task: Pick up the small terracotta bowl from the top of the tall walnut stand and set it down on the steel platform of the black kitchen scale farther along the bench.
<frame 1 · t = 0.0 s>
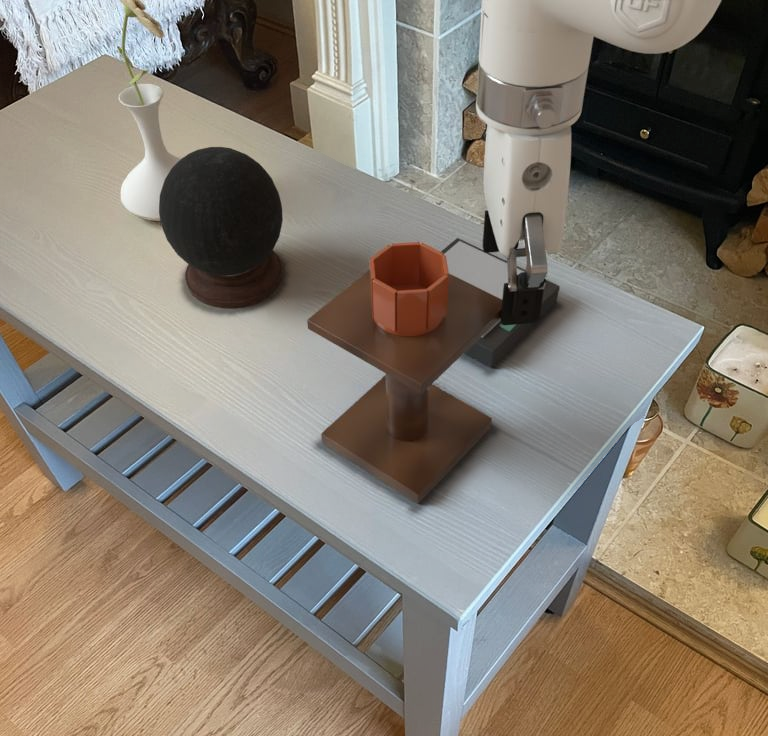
hand: (509, 284, 70), 15 cm above the table, tool pointing down, fingers open, 9 cm apart
black orb ornament: (234, 277, 94), on the table
scale: (472, 308, 91), on the table
bowl: (408, 311, 67), point 16 cm above the table, touching stand
stand: (406, 435, 80), on the table
flower in vase: (169, 200, 103), on the table
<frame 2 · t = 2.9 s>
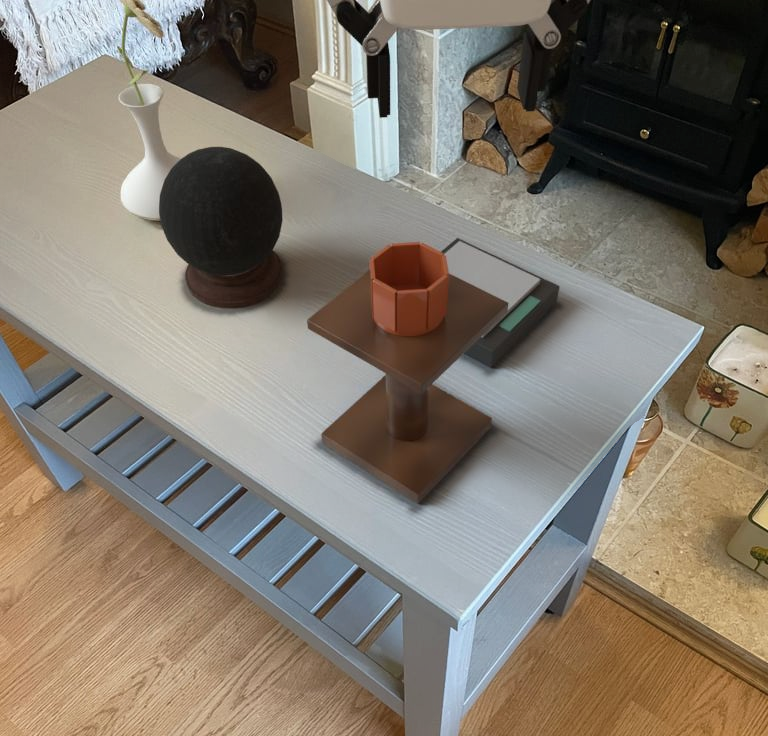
hand: (454, 103, 54), 33 cm above the table, tool pointing down, fingers open, 9 cm apart
nothing on the table moved.
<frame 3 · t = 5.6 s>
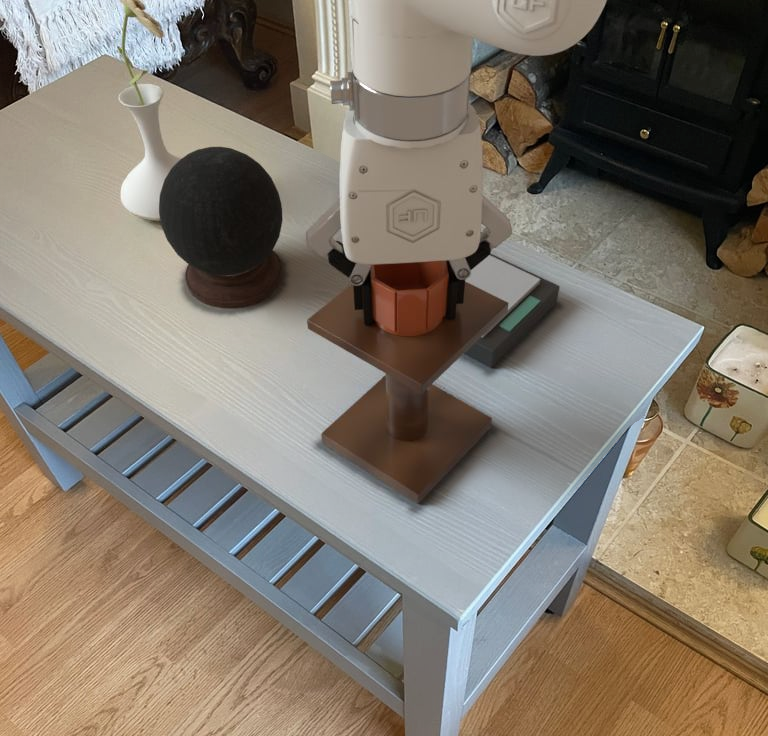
hand: (408, 309, 67), 16 cm above the table, tool pointing down, fingers closed on bowl, 6 cm apart
bowl: (408, 311, 67), point 16 cm above the table, touching gripper, stand
everything else where it was.
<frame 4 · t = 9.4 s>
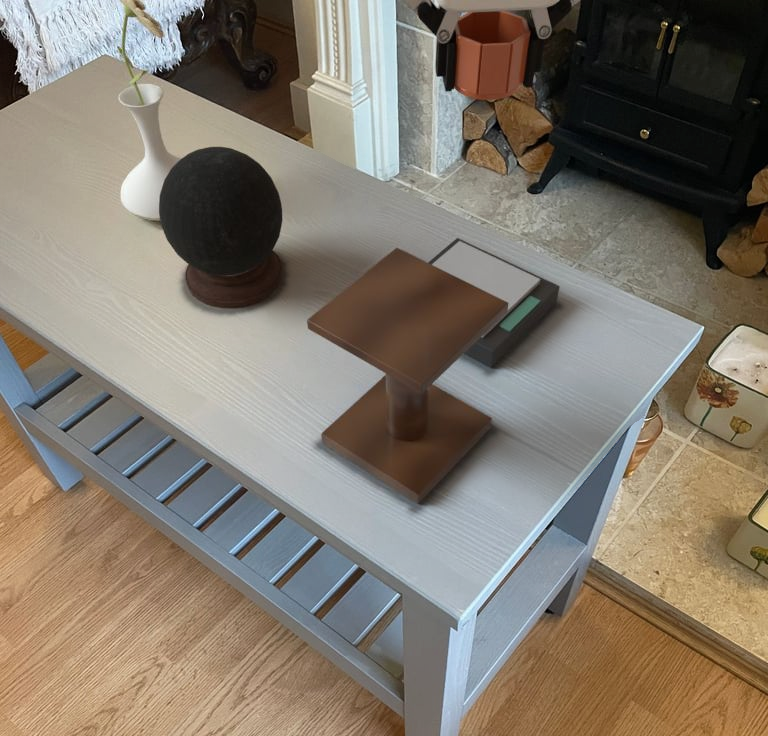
hand: (486, 79, 70), 25 cm above the table, tool pointing down, fingers closed on bowl, 6 cm apart
bowl: (486, 81, 70), point 25 cm above the table, touching gripper
everything else where it was.
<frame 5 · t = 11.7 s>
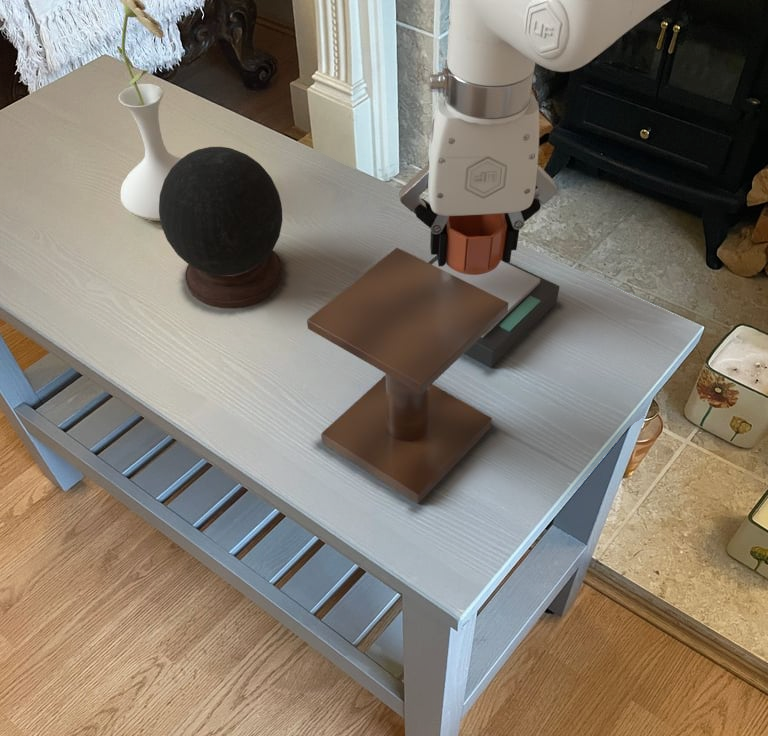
hand: (472, 254, 85), 7 cm above the table, tool pointing down, fingers closed on bowl, 6 cm apart
bowl: (472, 256, 85), point 7 cm above the table, touching gripper
everything else where it was.
when the fingers open (3 cm above the table, at t = 13.2 s): bowl stays where it is, resting on scale.
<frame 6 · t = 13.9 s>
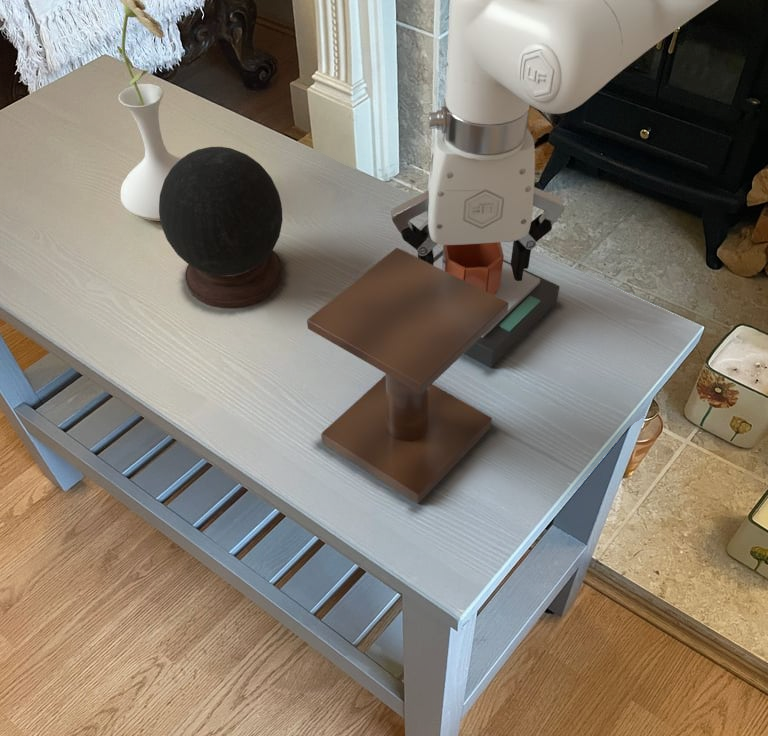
hand: (471, 275, 87), 4 cm above the table, tool pointing down, fingers open, 9 cm apart
bowl: (470, 284, 88), point 3 cm above the table, touching scale
everything else where it was.
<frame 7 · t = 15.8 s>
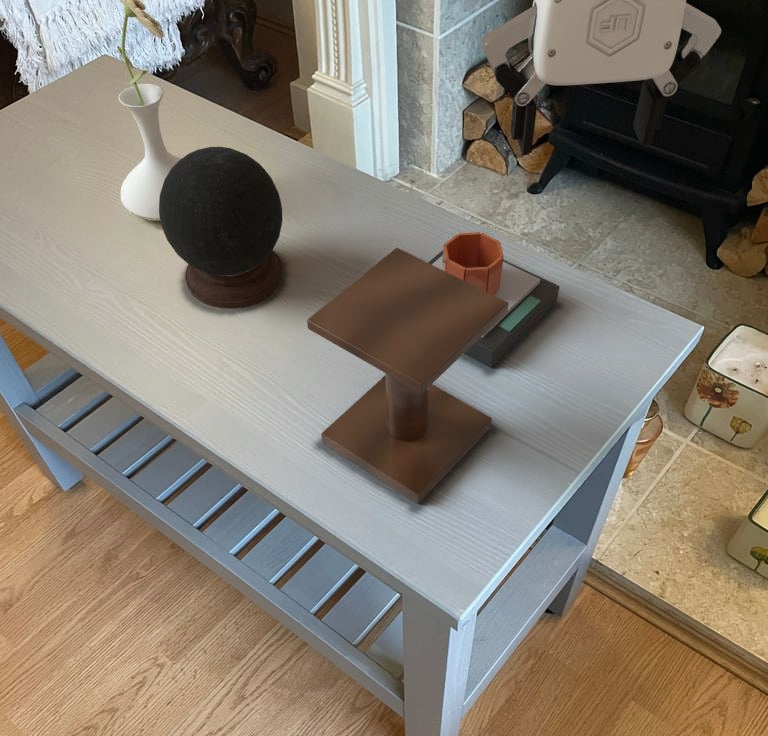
hand: (582, 141, 65), 25 cm above the table, tool pointing down, fingers open, 9 cm apart
nothing on the table moved.
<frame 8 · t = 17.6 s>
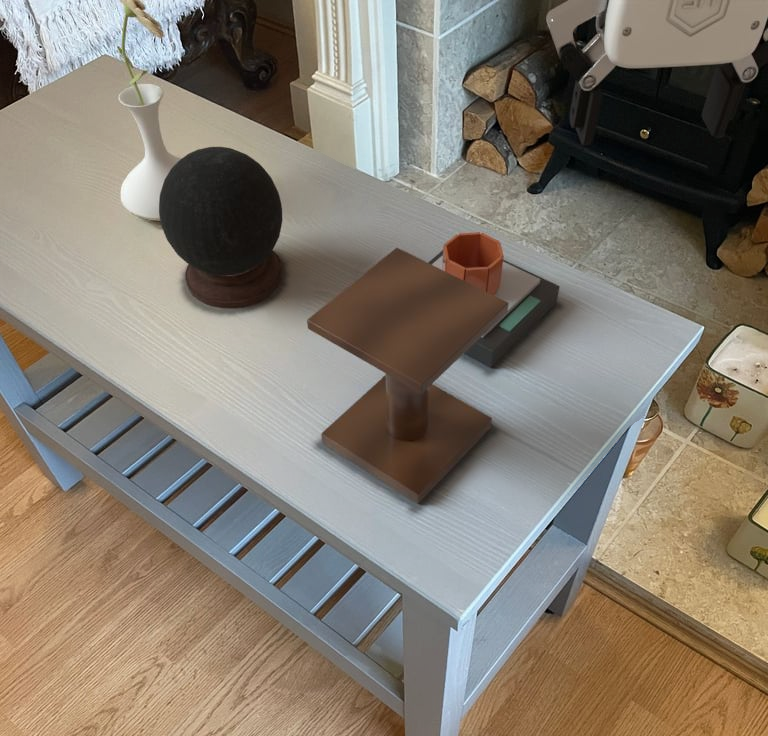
hand: (647, 131, 60), 28 cm above the table, tool pointing down, fingers open, 9 cm apart
nothing on the table moved.
at the end: bowl inside the target area on the scale (0.3 cm from its centre), point 3.0 cm above the scale's base; bowl tilted 0°; the gripper is holding nothing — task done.
